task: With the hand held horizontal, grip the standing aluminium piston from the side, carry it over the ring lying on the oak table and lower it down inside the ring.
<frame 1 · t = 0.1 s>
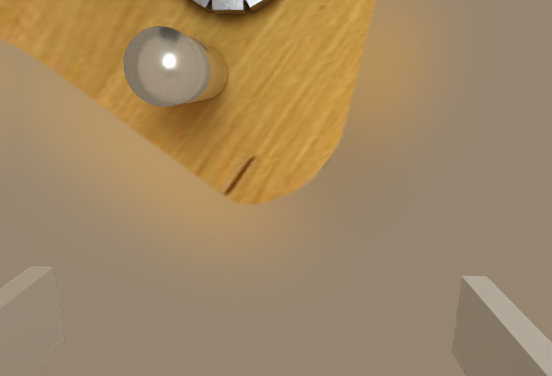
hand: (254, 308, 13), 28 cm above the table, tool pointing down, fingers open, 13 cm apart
piston: (201, 72, 39), on the table
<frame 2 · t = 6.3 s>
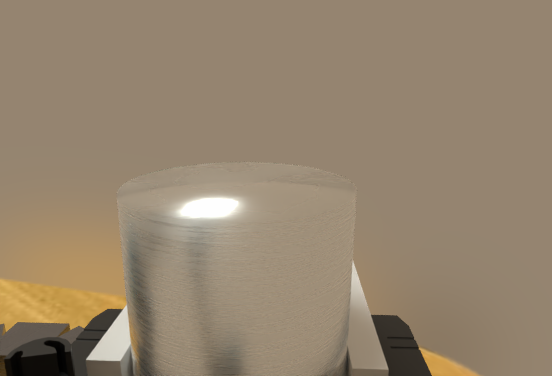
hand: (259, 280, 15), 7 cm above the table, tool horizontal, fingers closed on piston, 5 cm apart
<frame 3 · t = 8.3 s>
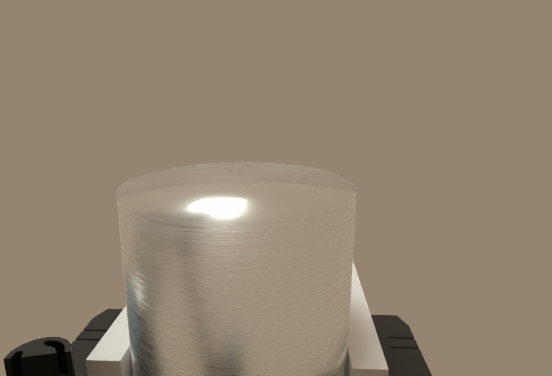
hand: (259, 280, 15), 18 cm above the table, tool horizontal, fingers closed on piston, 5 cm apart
when the fingers open (8 cm above the table, at t = 10.3 s): piston drops 1 cm, on the table.
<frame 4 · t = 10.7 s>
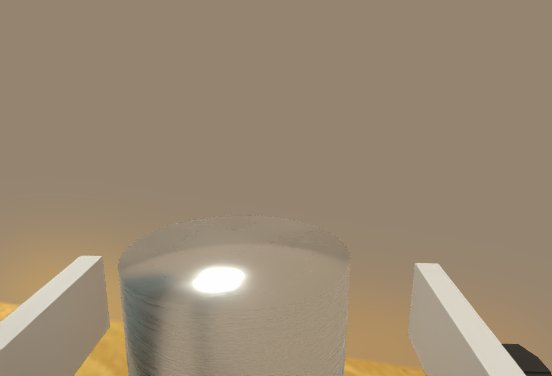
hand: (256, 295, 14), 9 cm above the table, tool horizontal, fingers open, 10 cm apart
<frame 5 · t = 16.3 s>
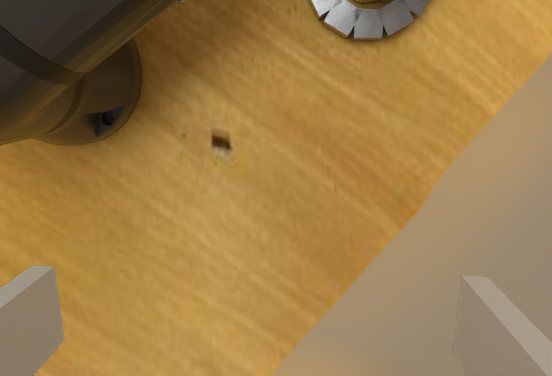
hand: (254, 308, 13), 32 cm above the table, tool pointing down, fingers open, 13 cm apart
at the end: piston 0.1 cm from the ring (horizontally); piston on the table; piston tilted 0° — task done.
